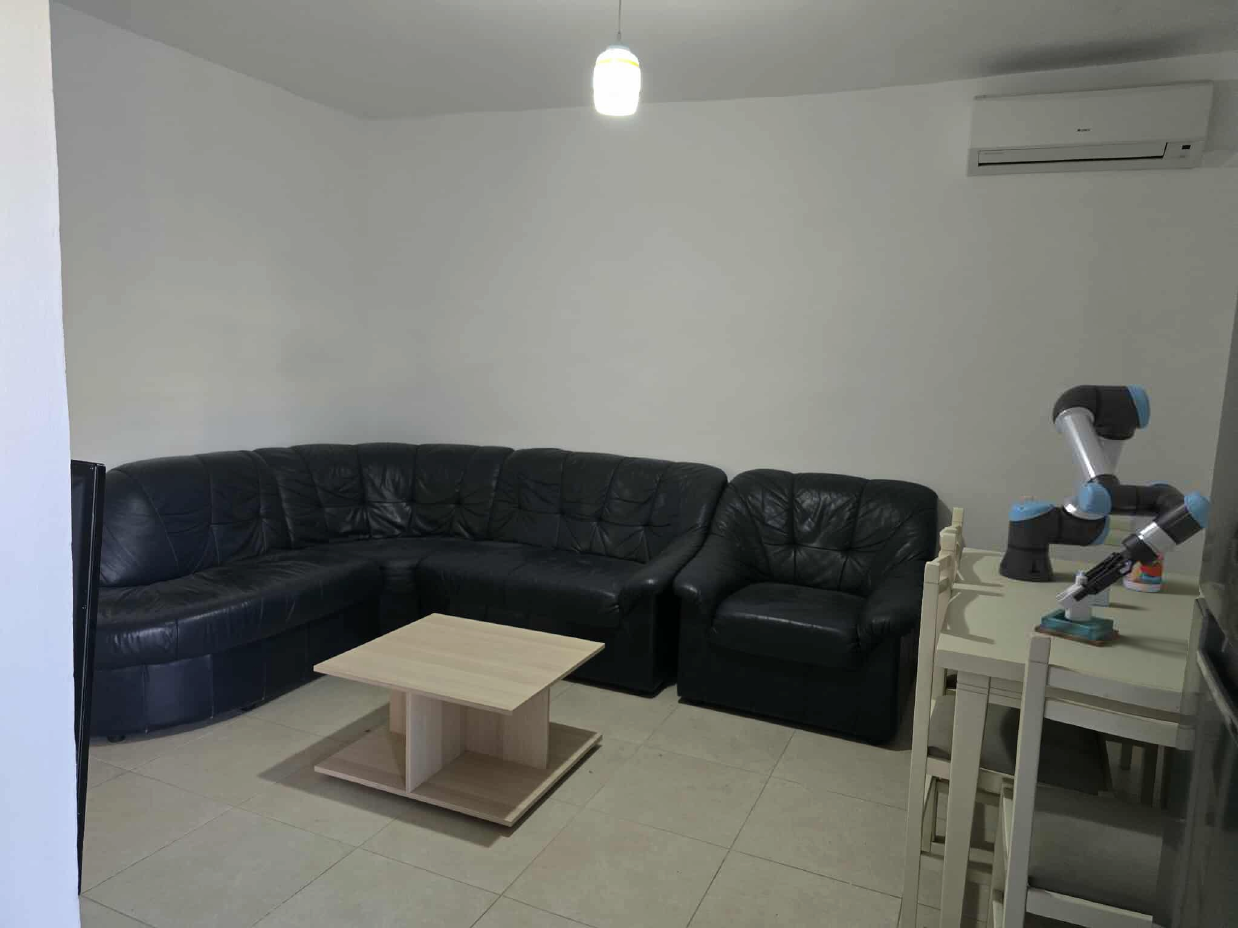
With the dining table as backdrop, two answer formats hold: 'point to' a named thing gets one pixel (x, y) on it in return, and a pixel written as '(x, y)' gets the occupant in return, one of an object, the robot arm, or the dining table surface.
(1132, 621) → the dining table surface
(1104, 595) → the medicine box
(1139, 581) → the fruit juice
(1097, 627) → the bottle stand
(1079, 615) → the eye dropper bottle
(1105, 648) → the dining table surface
